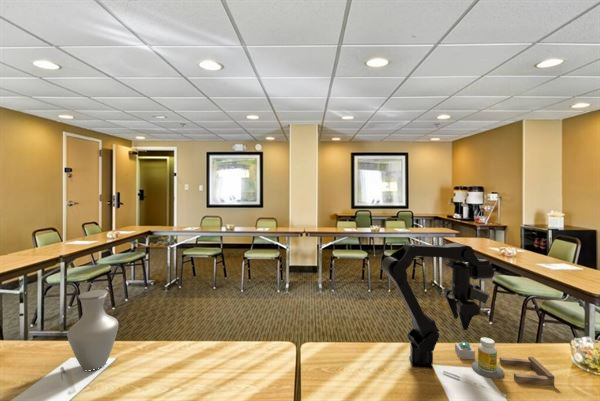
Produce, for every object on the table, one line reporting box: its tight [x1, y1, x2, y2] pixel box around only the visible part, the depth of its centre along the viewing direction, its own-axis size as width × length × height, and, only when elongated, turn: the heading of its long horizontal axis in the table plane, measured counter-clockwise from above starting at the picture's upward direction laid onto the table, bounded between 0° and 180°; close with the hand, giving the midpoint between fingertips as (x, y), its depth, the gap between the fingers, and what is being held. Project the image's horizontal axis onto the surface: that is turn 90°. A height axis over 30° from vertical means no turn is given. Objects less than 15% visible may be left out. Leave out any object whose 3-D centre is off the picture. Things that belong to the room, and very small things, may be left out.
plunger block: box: [454, 342, 476, 360], centre depth 111 cm, size 5×5×3 cm
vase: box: [66, 289, 120, 371], centre depth 104 cm, size 14×14×25 cm
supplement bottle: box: [477, 336, 498, 373], centre depth 101 cm, size 5×5×10 cm
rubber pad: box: [471, 360, 505, 380], centre depth 102 cm, size 9×9×1 cm
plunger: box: [459, 341, 471, 349], centre depth 111 cm, size 3×3×4 cm
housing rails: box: [498, 356, 555, 387], centre depth 100 cm, size 10×11×3 cm
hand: (460, 323), depth 107 cm, fingers open, 9 cm apart
